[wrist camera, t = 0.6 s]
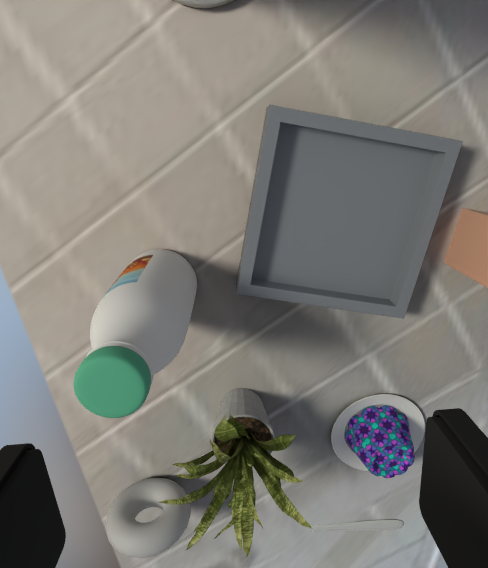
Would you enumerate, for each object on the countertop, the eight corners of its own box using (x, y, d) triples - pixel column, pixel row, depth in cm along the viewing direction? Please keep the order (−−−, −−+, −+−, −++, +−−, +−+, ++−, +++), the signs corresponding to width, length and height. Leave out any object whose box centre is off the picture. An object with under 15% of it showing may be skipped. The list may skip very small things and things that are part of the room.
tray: (266, 107, 38) (269, 104, 35) (446, 141, 39) (462, 141, 36) (236, 284, 44) (236, 294, 41) (393, 307, 45) (403, 318, 42)
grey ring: (193, 468, 52) (184, 541, 43) (195, 489, 53) (187, 563, 44) (116, 472, 52) (91, 546, 43) (120, 493, 53) (96, 568, 44)
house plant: (153, 378, 47) (116, 492, 32) (258, 330, 46) (272, 426, 30) (210, 462, 52) (201, 597, 37) (307, 421, 50) (341, 544, 35)
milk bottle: (184, 238, 42) (147, 319, 23) (206, 304, 44) (188, 424, 26) (115, 258, 42) (23, 352, 24) (141, 321, 45) (76, 452, 26)
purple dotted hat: (363, 375, 49) (378, 402, 44) (441, 413, 51) (463, 442, 46) (312, 446, 52) (320, 478, 47) (387, 478, 54) (402, 512, 49)
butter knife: (401, 535, 57) (404, 521, 56) (213, 541, 57) (212, 527, 56) (400, 531, 58) (402, 517, 57) (213, 537, 58) (212, 523, 56)
